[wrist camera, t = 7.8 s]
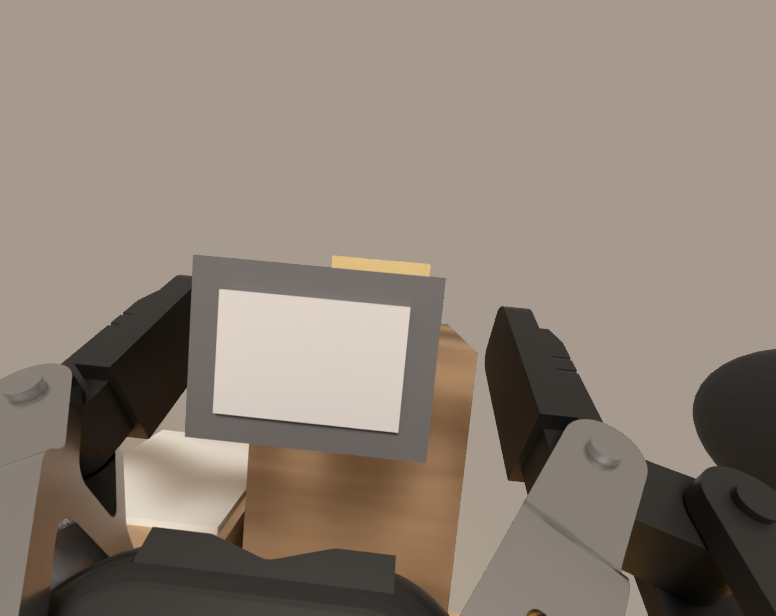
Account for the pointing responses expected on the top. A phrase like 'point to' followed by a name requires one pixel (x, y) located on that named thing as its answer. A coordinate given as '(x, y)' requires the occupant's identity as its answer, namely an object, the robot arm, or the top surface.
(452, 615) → the top surface
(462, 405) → the brown stepped block
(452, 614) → the top surface
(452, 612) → the top surface
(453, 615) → the top surface
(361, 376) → the bar
